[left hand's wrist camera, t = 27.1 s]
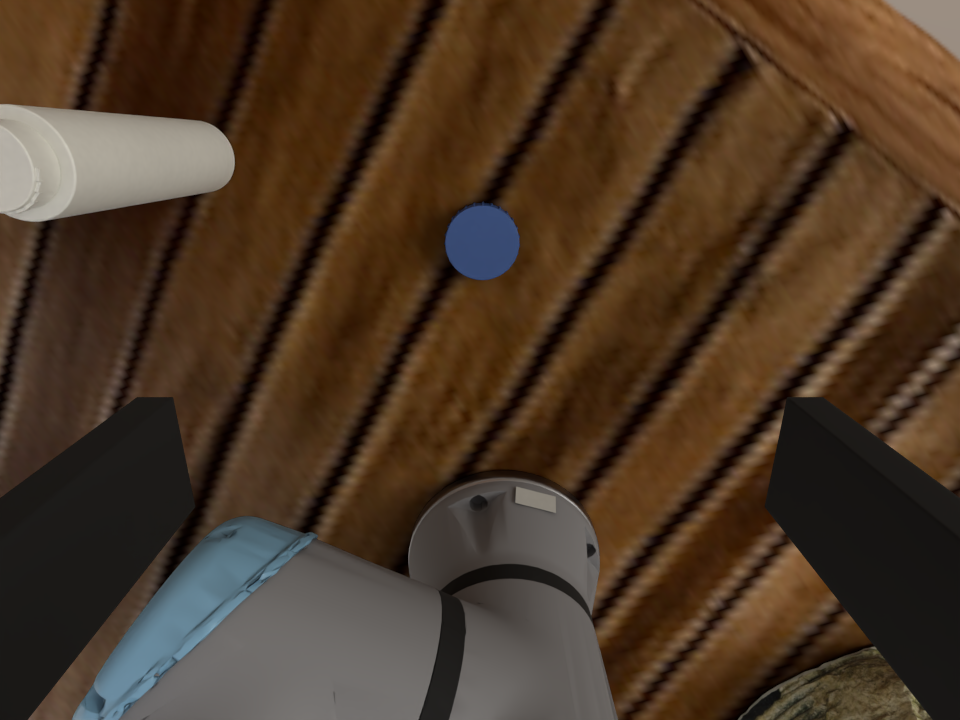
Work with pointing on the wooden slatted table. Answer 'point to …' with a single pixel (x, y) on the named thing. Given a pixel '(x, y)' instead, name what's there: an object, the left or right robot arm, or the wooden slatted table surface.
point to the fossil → (841, 693)
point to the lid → (482, 241)
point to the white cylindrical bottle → (103, 161)
